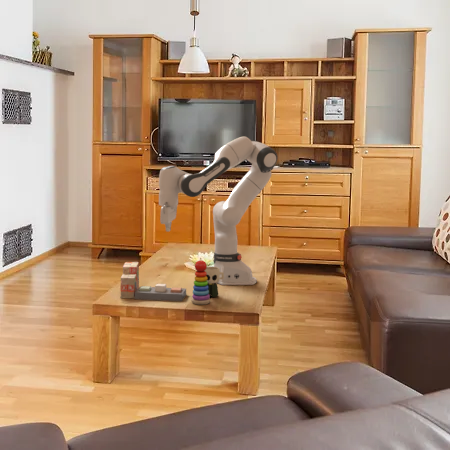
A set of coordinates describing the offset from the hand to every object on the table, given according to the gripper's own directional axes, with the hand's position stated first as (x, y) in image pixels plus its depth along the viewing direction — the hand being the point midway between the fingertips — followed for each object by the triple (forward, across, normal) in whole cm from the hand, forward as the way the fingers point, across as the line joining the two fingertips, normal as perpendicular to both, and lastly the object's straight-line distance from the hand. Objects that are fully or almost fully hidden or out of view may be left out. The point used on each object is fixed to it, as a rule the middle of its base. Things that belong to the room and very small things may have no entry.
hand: (168, 231), depth 313 cm
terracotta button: (+26, -17, -7) cm, 32 cm away
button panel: (+27, -17, 0) cm, 32 cm away
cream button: (+25, -17, 0) cm, 30 cm away
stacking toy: (+27, -24, -19) cm, 41 cm away
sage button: (+26, -17, +7) cm, 32 cm away
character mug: (+27, -12, -22) cm, 37 cm away
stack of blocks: (+28, -11, +15) cm, 33 cm away
